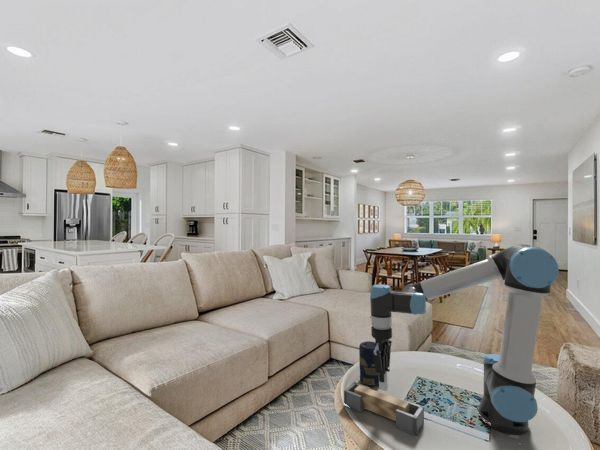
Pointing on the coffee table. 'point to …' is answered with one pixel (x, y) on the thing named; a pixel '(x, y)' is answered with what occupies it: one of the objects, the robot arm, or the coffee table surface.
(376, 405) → the slat
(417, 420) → the endcap
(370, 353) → the canister
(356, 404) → the endcap
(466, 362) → the coffee table surface
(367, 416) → the coffee table surface
